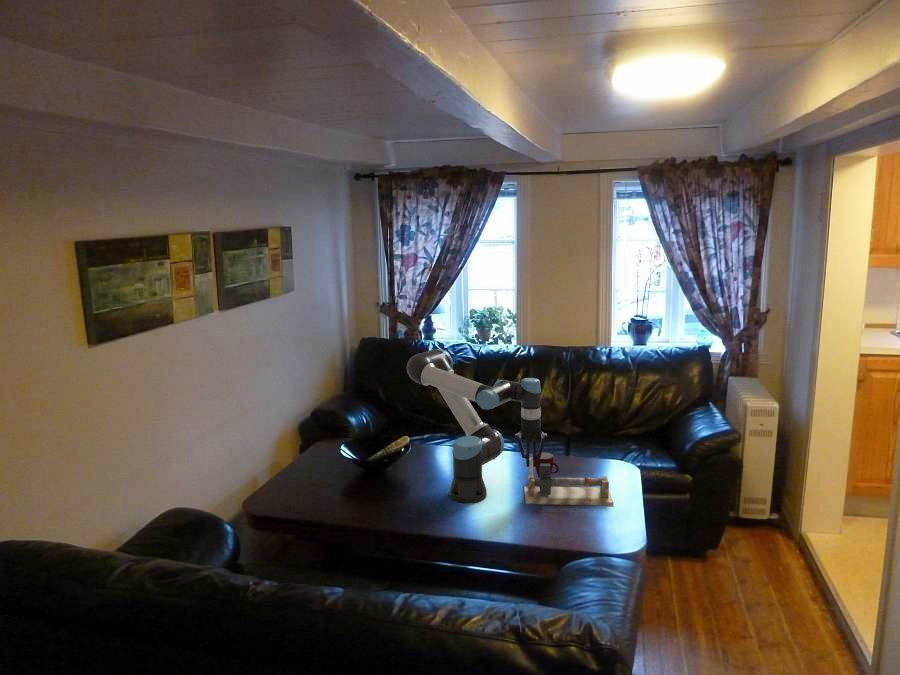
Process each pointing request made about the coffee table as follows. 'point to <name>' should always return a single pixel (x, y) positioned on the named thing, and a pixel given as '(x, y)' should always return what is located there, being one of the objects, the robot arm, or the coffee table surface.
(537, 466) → the mug
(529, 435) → the robot arm
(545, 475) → the collar
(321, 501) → the coffee table surface
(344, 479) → the coffee table surface
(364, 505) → the coffee table surface
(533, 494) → the pipe rig
